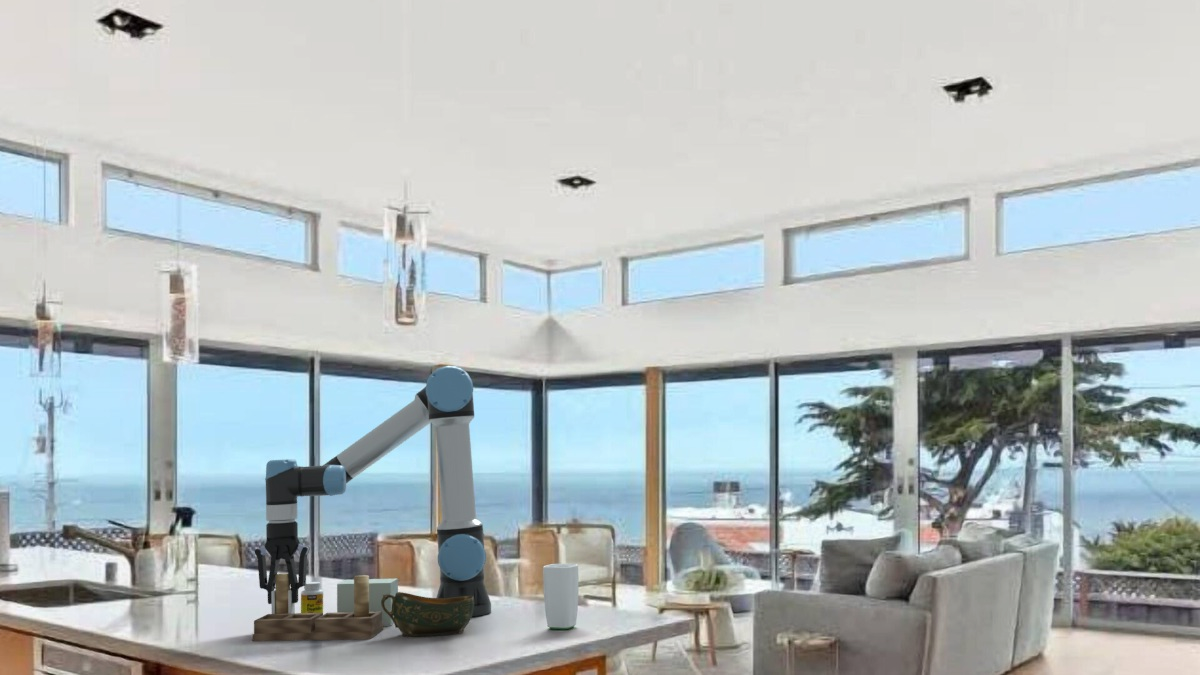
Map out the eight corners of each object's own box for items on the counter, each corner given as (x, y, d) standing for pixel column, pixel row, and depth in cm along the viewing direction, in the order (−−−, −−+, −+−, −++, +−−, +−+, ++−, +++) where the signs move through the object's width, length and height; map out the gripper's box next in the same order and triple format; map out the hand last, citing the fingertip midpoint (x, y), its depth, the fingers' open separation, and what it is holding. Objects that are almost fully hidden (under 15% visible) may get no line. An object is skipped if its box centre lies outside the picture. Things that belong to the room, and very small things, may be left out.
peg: (292, 621, 270) (291, 572, 271) (288, 624, 266) (287, 574, 267) (278, 622, 270) (278, 573, 271) (274, 624, 266) (273, 575, 267)
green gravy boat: (399, 628, 265) (399, 586, 266) (477, 630, 261) (477, 587, 262) (378, 638, 253) (378, 594, 254) (460, 640, 249) (459, 595, 250)
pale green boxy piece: (398, 619, 278) (397, 578, 279) (390, 625, 270) (390, 582, 271) (346, 621, 279) (346, 579, 280) (337, 626, 270) (337, 584, 271)
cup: (581, 626, 262) (580, 564, 263) (569, 631, 255) (567, 567, 257) (554, 624, 265) (553, 563, 266) (541, 630, 258) (540, 566, 260)
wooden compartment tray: (382, 629, 264) (382, 572, 266) (371, 638, 252) (371, 578, 254) (269, 632, 265) (269, 575, 266) (252, 641, 253) (252, 581, 254)
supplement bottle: (304, 626, 273) (304, 584, 274) (297, 623, 277) (297, 582, 278) (326, 623, 276) (326, 582, 277) (319, 620, 280) (319, 580, 281)
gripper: (319, 519, 274) (320, 613, 272) (254, 521, 274) (255, 615, 272) (310, 521, 266) (311, 618, 264) (243, 523, 267) (244, 620, 265)
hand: (283, 616), depth 268 cm, fingers closed on peg, 3 cm apart
